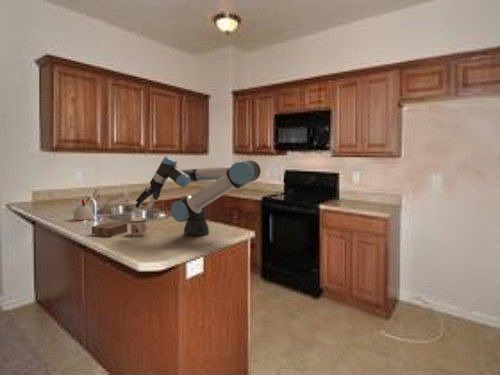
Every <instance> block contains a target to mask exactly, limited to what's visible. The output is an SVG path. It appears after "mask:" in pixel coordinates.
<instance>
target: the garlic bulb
mask: <svg viewBox="0 0 500 375" xmlns="http://www.w3.org/2000/svg"><path fill="white" fill-rule="evenodd" d="M94 216H95V211H94V210H93V209H92V208H91V207H90V206H89V205H88V204H86V203H85V199H81V204H80V205H78V206H77V207H76V209H75V210H74V211H73V217H72V218H73V220H75V221H84V220H90V219H93V218H94Z"/></svg>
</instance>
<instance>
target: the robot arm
mask: <svg viewBox="0 0 500 375" xmlns="http://www.w3.org/2000/svg"><path fill="white" fill-rule="evenodd" d="M177 164H178V161H177V160H176V158H174V157H172V156H170V155H166V156H164V158H163V159H162V160H161V162H160V165H159V166H158V168H157V169H156V171H155V172H154V175H153V177H152V178H151V180H150V182H149V184H150V186H149V187H148V186H146V187H145V189H144V190H143V191H142V192H141V194H140V195H139V196H138V198H137V199H135V202H136V204H135V205H134V207H133V209H132V211H134V212H135V214H136V213H138V212H139V211H140V208H141V206H142V205H143V203H144V201H146V200H147V198H149V197H151V196H152V197H151V198H150V199H149V201H148V202H147V205H146V206H147V207H148V208H149V209H151V208H152V206H153V205H154V203H155V202H156V201H158V199H159V198H160V195H161V191H162V189H163V187H164V185H165V184H166V182H167V181H168V179H171V180H172V181H173V182H174V183H175V184H176V185H177V186H179V187H180V188H182V189H183V188H186V187H188V186H189V184H190V183H194V182H195V183H196V182H197V183H198V182H208V181H209V182H210V181H213V182H212V183H210V184H209V185H207V186H205V187H203V189H201V190H199V191H198V192H196V193H194V194H188V195H186V196H185V197H183V198H182V199H180V200H176V201H174V202H173V203H172V204H171V206H170V214H171V217H172V218H173V220H175V221H176V222H178V223H184V222H185V226H184V228H183V234H184V236H187V237H188V236H190V237H201V236H207V235H209V233H210V230H209V225H208V223H207V206H208V205H210V204H211V203H212V202H215V200H218V199H219V198H220V197H222V196H224V195H225V194H227V193H228V192H230V191H232V190H234V189H237V190H238V189H240V188H242V187H244V186H245V185H247V184H249V183H251V182H255V181H257V180H258V179H259V177H260V175H261V173H262V172H261V167H260V165H259V164H258V162H257V161H255V160H238V161H236V162H234V163H233V164H232V165H226V166H224V165H223V166H215V167H214V166H213V167H202V168H190V169H181V168H180V167H178V166H177Z"/></svg>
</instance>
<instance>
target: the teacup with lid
mask: <svg viewBox="0 0 500 375" xmlns="http://www.w3.org/2000/svg"><path fill="white" fill-rule="evenodd" d="M130 229H131V230H130V232H131V233H130V234H131V235H132V236H135V237H140V236H141V237H142V236H145V235H146V234H147V230H148V225H147V219H146V217H143V216H141V215H140V214H136V216H135V217H133V218H131V219H130Z"/></svg>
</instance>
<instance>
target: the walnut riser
mask: <svg viewBox="0 0 500 375" xmlns="http://www.w3.org/2000/svg"><path fill="white" fill-rule="evenodd" d="M125 233H128V224H127V223H123V222H122V223H121V222H120V223H119V222H109V221H108V222H104V223H102V224H101V223H100V224H97V225H94V226H91V235H92V234H95V235H102V236H101V237H104V236H110V237H109V238H113V237H115V235H116V236H119V235H123V234H125ZM118 234H119V235H118ZM95 235H94V236H95ZM112 236H113V237H112Z"/></svg>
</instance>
